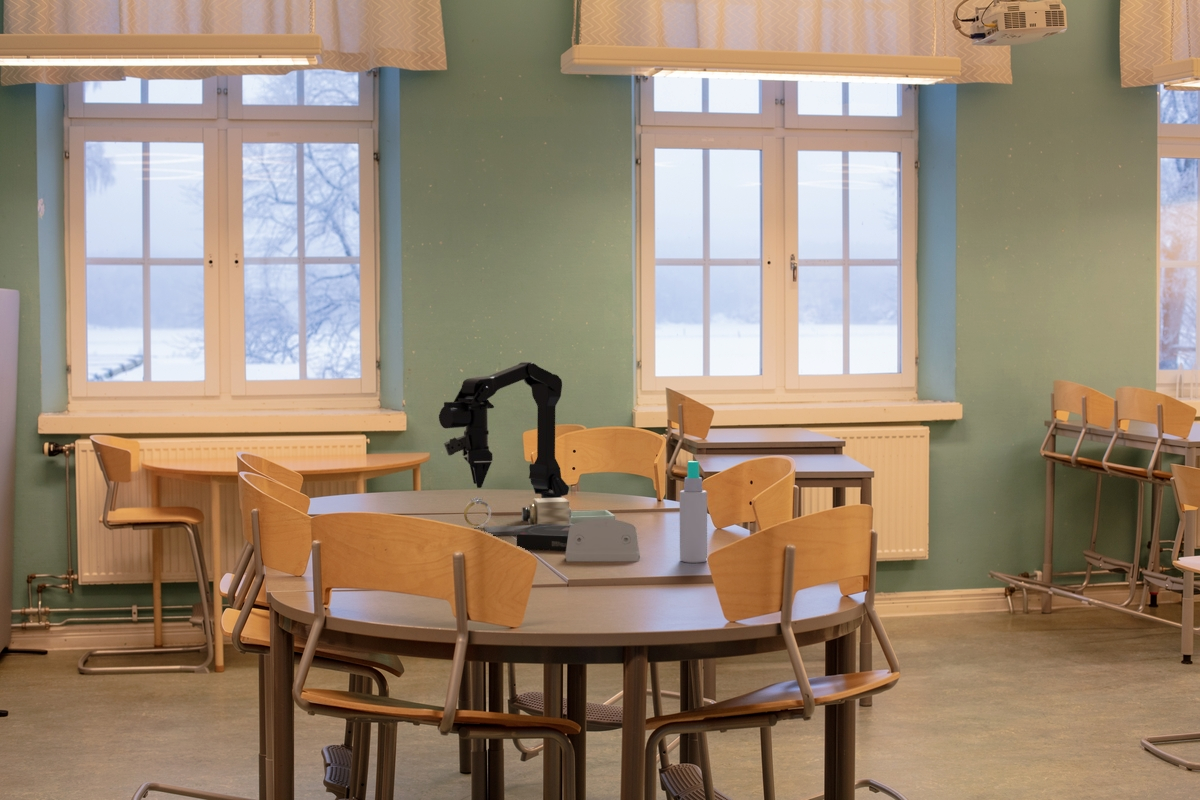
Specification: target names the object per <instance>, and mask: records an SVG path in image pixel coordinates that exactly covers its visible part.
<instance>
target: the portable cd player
mask: <svg viewBox="0 0 1200 800" xmlns="http://www.w3.org/2000/svg"><path fill="white" fill-rule="evenodd" d="M570 526H571V525H553V524H538V525H536V526H533V527H531V528H529V529H527V530H525V531H523V532H521V533H518V534H517V535H516V547H517V546H520V547H522V548H525V549H527V551H543V552H544V551H548V552H566V547H567V540H568V534H569V528H570Z"/></svg>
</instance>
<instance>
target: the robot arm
mask: <svg viewBox="0 0 1200 800" xmlns="http://www.w3.org/2000/svg"><path fill="white" fill-rule="evenodd" d="M520 381H524V383H525V385H527V386H529V387H530V388H531V395H532V399H534V402H535V404H536V406H537V419H536V420H537V424H536V425H537V429H536V431H537V433H536V435H537V437H536V443H537V445H536V446H537V447H536V448H537V451H536V453H537V454H536V459H535V461H534V463H530V464H529V467H528V468H529V475H528V479H530V484H531V486H533V490H534V493H535V494H536V495H540V498H563V497H565V496H568V494H569V491H570V487H569V486H568V484H567V483H566V482H565V481H564V479H563V478H562V474H561V473H562V472H561V466H560V465H559V463H558V461H557V459H556V407H557V404H558V402H559V400H560V399H561V396H562V389H563V381H562V378H560V376H559V375H558V374H556V373H555V374H554V373H552V372H550V371H549V370H546V369H544V368H542V367H540V366H539V365H537V364H535V363H534V362H526V361H522V362H519V363H518V364H516V365H513V366H511V367H507V368H506V369H503V370H500V371H497V372H495V373H493V374H490V375H487V376H486V375H485V376H475V377H470V378H469V377H468V378H466V379H464V380H463V381H462V384H461V388H460V390H459V391H458V393H457V395H456V396H455V399H454V400H453V401H444V402H443V407H442V408H441V409H440V411H439V414H438V421H439V423H440V426H441V427H442V428H444V429H458V428H459V429H460V428H465V430H464V431H463V435H462V436H459V437H455V436H454V437H453V438H450V439H449V441H446V442H444V443H443V446H444V448H445V450H446V453H447V455H448V456H449V457H450V456H453V455H454V454H456V453H458V452H461V451H462V456H463V457H462V458H463V459H464V460H465V461H466V462H467V463H468V465H469V468H470V469H469V470H470V472H471V477H472V481H473V484H474V485H476V488H477V489H481V488H482V487H483V485H484V481H485V479H486V477H487V474H488V472H489V469H490V468H491V464H492V462H493V452H491V451H490V447H489V440H488V439H489V436H488V435H490V434H489V432H490V431H489V430H488V429H489V426H488V409H490V410H491V409H494V408H495V406H494V405H493V404H492V403H491V402H490V400H489V399H490V398H492V396H494V395H495V394H496V393H497V392H499V390H501V389H503V388H505V387H509V386H511V385H513V384H515V383H518V382H520Z"/></svg>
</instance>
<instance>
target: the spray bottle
mask: <svg viewBox="0 0 1200 800" xmlns="http://www.w3.org/2000/svg"><path fill="white" fill-rule="evenodd" d="M686 472H687V476H686V477H684V484H683V487H684V488H683V490H680V491H679V560H680V561H681V562H683V563H689V564H699V563H705V562H706V561H707V560H706V558H707V559H708V491H707V490H703V489H704V488H703V477H701V476H700V462H699V461H698V460H697V461H696V460H688V461H687V471H686Z"/></svg>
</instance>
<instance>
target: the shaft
mask: <svg viewBox="0 0 1200 800" xmlns="http://www.w3.org/2000/svg"><path fill="white" fill-rule="evenodd" d="M571 511H572V508H571V507H569V518H570V517H571ZM536 519H537V509H536V506H535V504H534V503H528V506H525V507H521V520H522V522H528V524H529V525H534V524H536Z"/></svg>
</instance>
